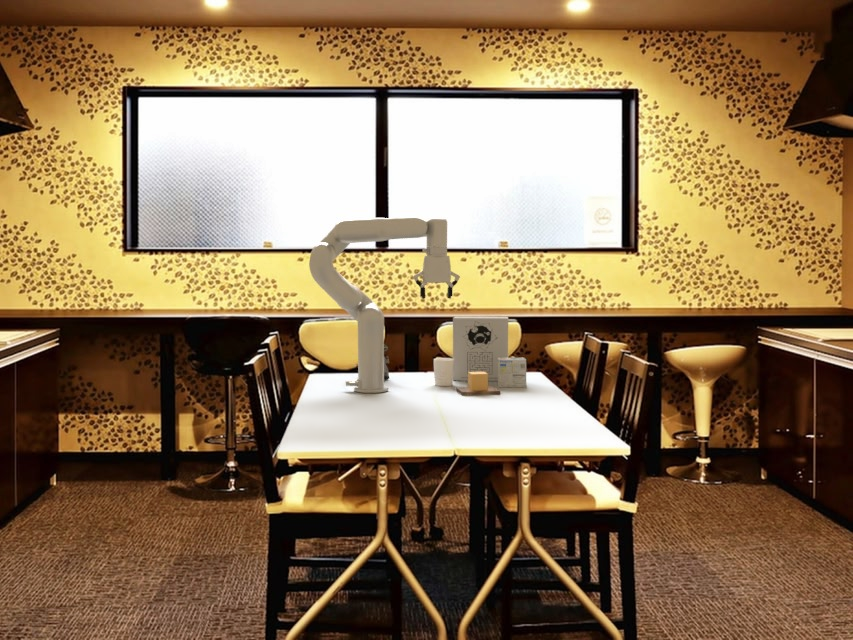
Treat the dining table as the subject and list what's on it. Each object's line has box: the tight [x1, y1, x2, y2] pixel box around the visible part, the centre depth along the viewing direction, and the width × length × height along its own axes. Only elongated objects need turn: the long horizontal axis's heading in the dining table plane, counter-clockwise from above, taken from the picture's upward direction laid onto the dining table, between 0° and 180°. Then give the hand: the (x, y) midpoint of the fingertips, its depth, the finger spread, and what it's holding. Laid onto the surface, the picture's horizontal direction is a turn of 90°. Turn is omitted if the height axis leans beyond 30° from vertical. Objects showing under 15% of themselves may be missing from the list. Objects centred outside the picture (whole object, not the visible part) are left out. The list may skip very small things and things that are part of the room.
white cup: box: [433, 357, 454, 387], centre depth 354 cm, size 8×8×10 cm
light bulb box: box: [497, 356, 527, 388], centre depth 351 cm, size 11×7×11 cm, turn 92°
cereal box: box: [452, 315, 509, 382], centre depth 367 cm, size 22×8×25 cm, turn 84°
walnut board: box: [455, 385, 501, 396], centre depth 337 cm, size 14×11×1 cm
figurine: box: [355, 343, 390, 380], centre depth 367 cm, size 9×12×15 cm
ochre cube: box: [467, 372, 489, 391], centre depth 336 cm, size 6×6×6 cm
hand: (436, 298), depth 340 cm, fingers open, 9 cm apart
